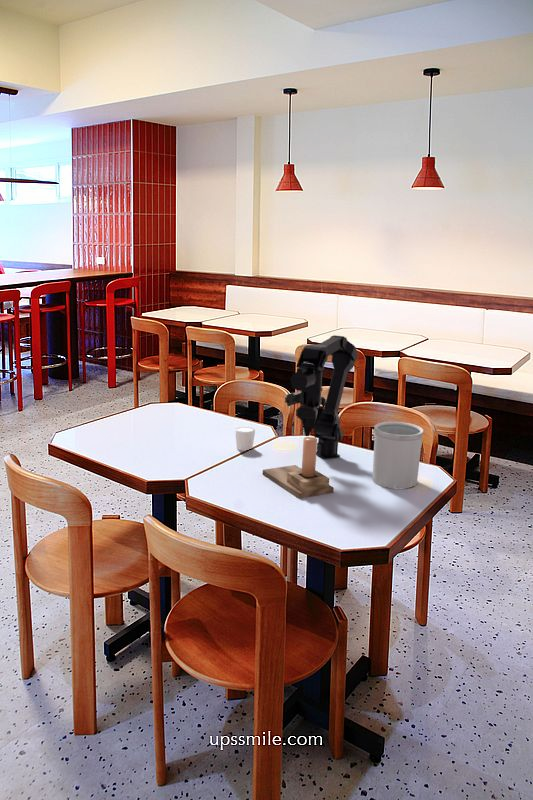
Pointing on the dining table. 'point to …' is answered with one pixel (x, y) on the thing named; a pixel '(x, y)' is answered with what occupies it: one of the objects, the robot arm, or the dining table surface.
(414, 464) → the utensil holder
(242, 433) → the white cup
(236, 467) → the dining table surface
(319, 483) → the wooden socket base
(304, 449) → the plug
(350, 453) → the dining table surface
